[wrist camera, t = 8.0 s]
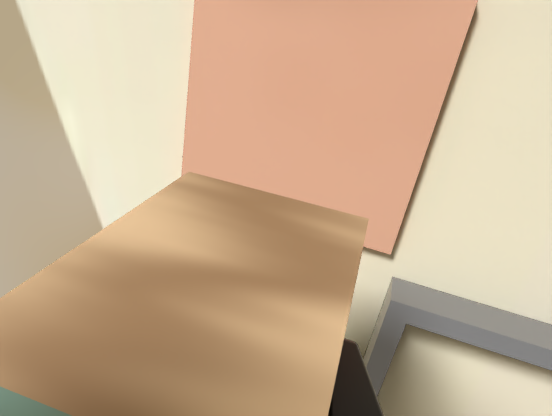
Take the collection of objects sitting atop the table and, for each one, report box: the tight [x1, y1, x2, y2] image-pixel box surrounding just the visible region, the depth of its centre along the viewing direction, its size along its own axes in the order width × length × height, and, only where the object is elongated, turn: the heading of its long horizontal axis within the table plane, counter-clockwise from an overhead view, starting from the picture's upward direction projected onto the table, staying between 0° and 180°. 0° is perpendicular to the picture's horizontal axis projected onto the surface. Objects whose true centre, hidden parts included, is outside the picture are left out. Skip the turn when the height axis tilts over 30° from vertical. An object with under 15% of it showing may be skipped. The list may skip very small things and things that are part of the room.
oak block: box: [0, 172, 369, 416], centre depth 8 cm, size 4×4×7 cm
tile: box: [181, 0, 478, 255], centre depth 19 cm, size 11×11×1 cm
